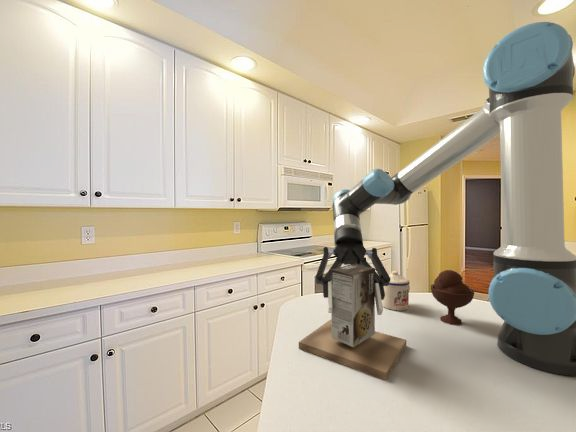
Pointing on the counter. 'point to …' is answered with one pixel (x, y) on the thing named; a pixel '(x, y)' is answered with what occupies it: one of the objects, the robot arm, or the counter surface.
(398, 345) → the walnut board
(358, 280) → the coffee box
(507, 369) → the counter surface
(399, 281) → the teacup with lid
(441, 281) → the ice cream bowl
